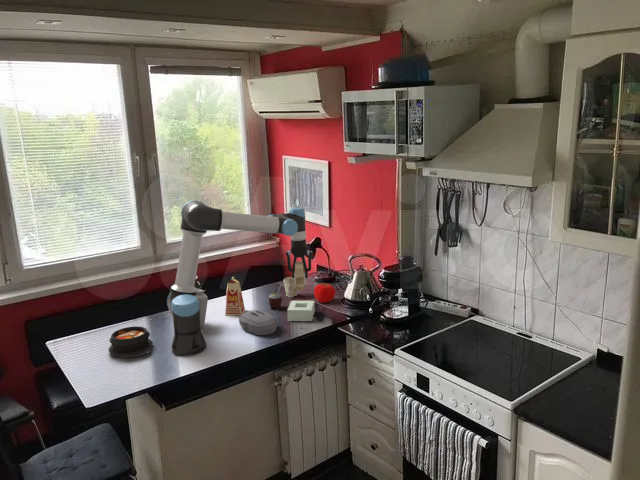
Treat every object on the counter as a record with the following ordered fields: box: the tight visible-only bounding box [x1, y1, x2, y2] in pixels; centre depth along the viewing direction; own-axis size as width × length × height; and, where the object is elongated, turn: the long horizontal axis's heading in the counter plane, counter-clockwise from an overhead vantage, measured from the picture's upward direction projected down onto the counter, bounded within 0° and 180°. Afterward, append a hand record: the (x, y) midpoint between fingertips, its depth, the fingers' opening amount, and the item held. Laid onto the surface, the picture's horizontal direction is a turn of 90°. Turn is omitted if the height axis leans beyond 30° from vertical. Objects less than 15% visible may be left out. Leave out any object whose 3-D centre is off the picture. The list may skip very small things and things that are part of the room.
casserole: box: [108, 325, 154, 359], centre depth 228 cm, size 25×19×8 cm
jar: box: [195, 277, 209, 327], centre depth 252 cm, size 19×15×25 cm
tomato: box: [313, 282, 336, 303], centre depth 283 cm, size 12×12×10 cm
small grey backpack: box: [238, 310, 279, 336], centre depth 247 cm, size 15×8×20 cm
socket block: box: [286, 300, 316, 322], centre depth 262 cm, size 14×12×6 cm
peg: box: [295, 260, 306, 291], centre depth 258 cm, size 4×4×14 cm
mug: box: [283, 276, 298, 298], centre depth 292 cm, size 8×13×10 cm, turn 174°
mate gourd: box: [268, 281, 285, 310], centre depth 275 cm, size 8×8×15 cm
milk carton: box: [224, 276, 246, 317], centre depth 269 cm, size 9×9×20 cm
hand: (300, 284), depth 259 cm, fingers closed on peg, 4 cm apart
